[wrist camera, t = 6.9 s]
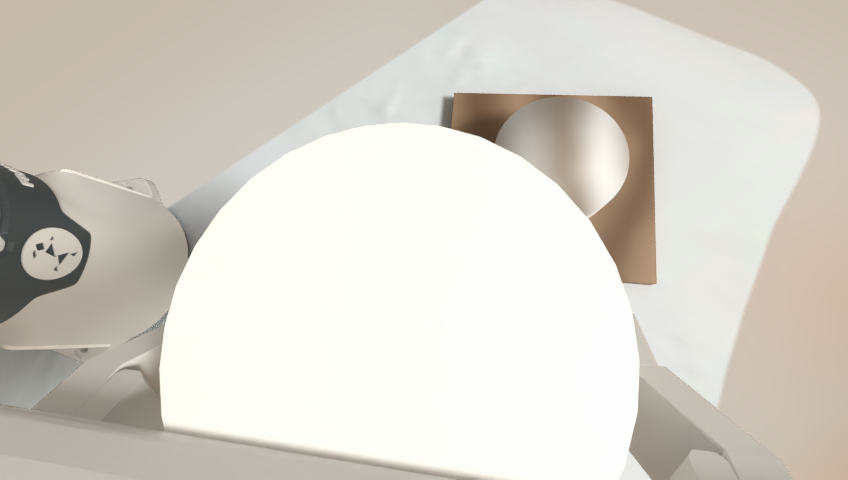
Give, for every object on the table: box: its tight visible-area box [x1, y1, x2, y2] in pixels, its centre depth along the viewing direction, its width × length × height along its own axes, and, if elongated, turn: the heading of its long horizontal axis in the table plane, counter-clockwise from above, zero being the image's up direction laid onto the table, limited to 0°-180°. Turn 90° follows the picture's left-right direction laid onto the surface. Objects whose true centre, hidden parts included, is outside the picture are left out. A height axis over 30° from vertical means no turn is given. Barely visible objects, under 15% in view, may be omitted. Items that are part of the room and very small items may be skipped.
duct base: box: [451, 93, 657, 285], centre depth 31 cm, size 18×17×6 cm
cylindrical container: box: [159, 123, 640, 480], centre depth 18 cm, size 7×7×25 cm
